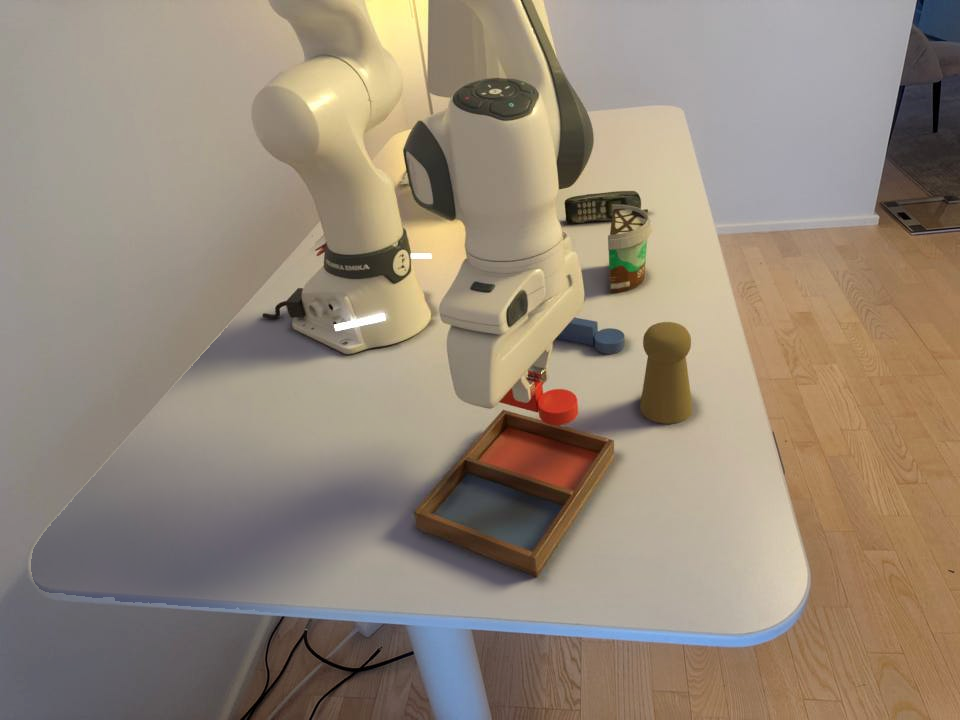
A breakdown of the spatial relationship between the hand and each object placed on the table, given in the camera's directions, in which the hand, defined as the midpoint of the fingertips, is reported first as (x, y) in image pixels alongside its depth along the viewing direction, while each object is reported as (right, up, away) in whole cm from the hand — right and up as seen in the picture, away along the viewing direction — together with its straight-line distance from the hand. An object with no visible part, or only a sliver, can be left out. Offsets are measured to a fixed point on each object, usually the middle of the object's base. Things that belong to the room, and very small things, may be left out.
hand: (531, 389), depth 73 cm
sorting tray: (-1, -11, +3) cm, 11 cm away
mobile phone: (+18, +29, +59) cm, 68 cm away
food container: (+18, +16, +39) cm, 46 cm away
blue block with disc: (+9, +6, +26) cm, 28 cm away
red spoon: (0, -2, +2) cm, 2 cm away
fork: (-21, +47, +96) cm, 109 cm away
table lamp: (0, +37, +76) cm, 84 cm away
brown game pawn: (+17, -3, +12) cm, 21 cm away
